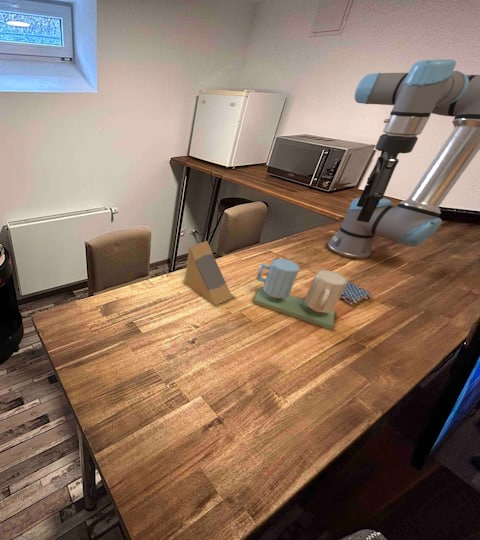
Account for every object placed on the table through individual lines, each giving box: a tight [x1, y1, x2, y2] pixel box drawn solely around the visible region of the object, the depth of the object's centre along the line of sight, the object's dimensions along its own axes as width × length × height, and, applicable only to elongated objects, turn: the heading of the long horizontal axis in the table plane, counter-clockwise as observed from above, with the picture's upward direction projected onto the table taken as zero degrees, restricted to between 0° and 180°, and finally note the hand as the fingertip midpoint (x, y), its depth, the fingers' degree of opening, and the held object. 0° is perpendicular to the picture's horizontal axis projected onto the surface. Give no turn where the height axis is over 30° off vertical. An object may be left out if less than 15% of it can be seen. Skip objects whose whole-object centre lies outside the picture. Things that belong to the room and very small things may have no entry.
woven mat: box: [339, 280, 372, 306], centre depth 99 cm, size 10×11×2 cm
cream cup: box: [303, 269, 348, 313], centre depth 84 cm, size 8×10×10 cm
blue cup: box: [256, 257, 301, 298], centre depth 92 cm, size 8×10×10 cm
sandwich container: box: [184, 240, 233, 306], centre depth 97 cm, size 9×15×15 cm, turn 31°
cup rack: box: [253, 286, 336, 331], centre depth 90 cm, size 9×22×14 cm, turn 56°
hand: (362, 213), depth 85 cm, fingers open, 13 cm apart
